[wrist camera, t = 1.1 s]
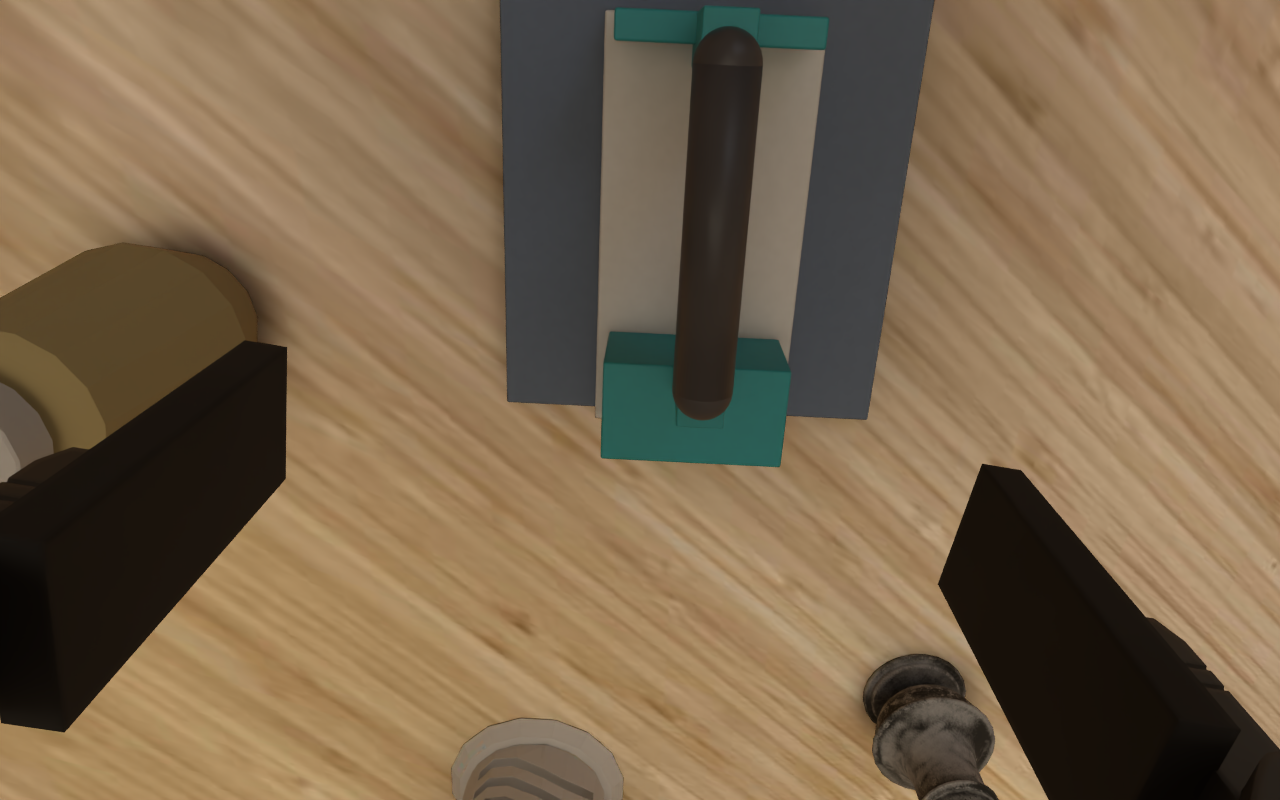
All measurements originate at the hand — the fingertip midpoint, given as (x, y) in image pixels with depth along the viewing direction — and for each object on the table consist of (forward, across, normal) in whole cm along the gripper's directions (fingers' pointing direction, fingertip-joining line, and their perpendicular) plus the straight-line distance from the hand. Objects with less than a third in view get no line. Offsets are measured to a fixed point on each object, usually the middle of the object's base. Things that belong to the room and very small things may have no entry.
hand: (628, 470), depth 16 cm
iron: (+20, +2, +1) cm, 20 cm away
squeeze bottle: (+22, -19, -7) cm, 30 cm away
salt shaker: (+22, +18, -21) cm, 35 cm away
